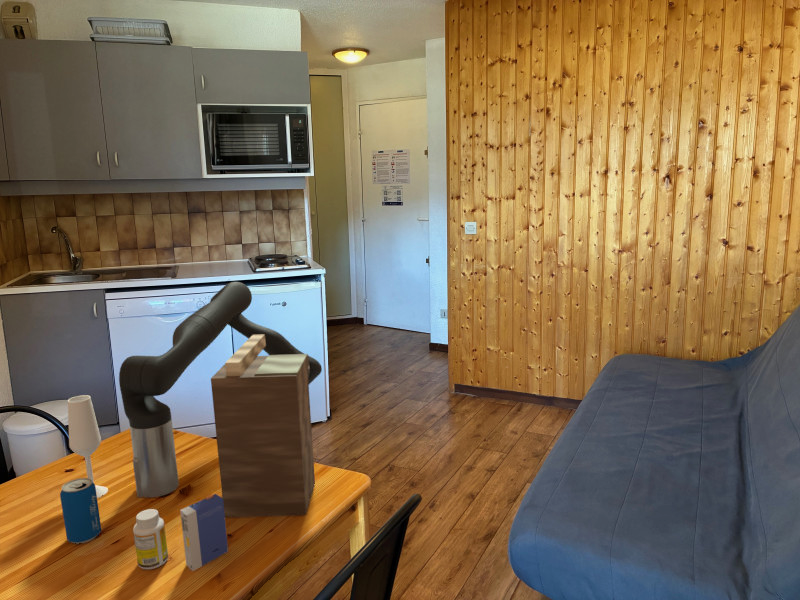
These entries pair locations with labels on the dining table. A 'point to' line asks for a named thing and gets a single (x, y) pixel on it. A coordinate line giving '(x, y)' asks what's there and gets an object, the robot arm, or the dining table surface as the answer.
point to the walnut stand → (265, 437)
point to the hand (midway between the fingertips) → (274, 364)
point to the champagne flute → (84, 433)
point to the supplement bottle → (150, 539)
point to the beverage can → (80, 510)
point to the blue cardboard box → (204, 531)
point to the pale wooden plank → (245, 355)
